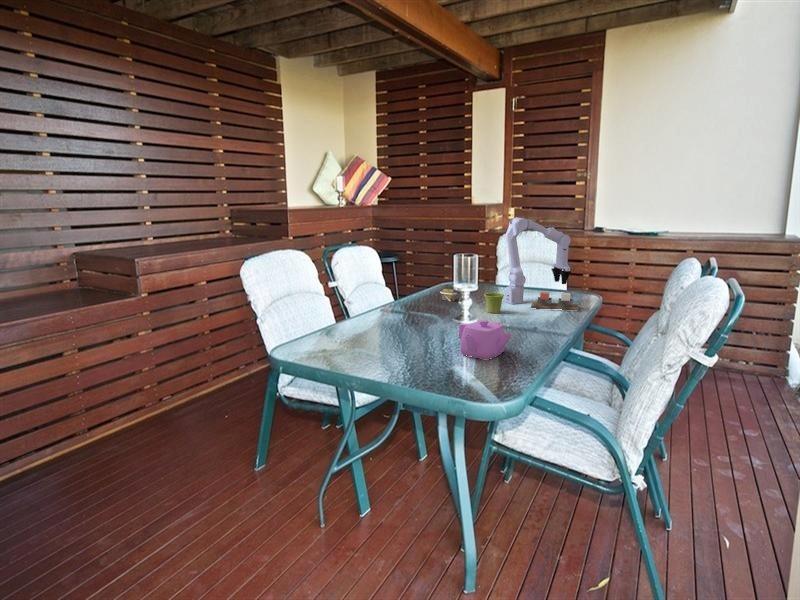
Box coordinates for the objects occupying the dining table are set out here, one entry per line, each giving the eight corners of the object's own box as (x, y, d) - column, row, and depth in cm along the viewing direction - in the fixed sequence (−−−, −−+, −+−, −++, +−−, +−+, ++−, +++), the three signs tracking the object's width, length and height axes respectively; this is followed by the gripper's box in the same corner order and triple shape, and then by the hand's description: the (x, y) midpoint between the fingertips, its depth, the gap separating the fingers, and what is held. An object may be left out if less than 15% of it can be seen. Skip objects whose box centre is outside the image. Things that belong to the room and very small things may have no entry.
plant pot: (507, 313, 242) (508, 295, 240) (490, 315, 238) (491, 297, 236) (496, 309, 250) (497, 292, 248) (480, 311, 247) (480, 293, 245)
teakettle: (498, 345, 191) (499, 314, 189) (513, 360, 175) (514, 325, 172) (454, 347, 189) (454, 315, 187) (465, 362, 173) (466, 327, 170)
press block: (577, 307, 253) (578, 298, 252) (577, 312, 243) (578, 302, 242) (532, 304, 260) (533, 295, 259) (530, 308, 250) (531, 300, 249)
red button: (549, 298, 254) (549, 292, 253) (548, 299, 250) (549, 293, 249) (540, 297, 255) (540, 291, 254) (540, 299, 251) (540, 293, 251)
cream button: (570, 299, 250) (570, 293, 250) (570, 300, 247) (570, 294, 246) (561, 298, 252) (561, 292, 251) (561, 300, 248) (561, 294, 247)
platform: (456, 305, 261) (456, 293, 260) (427, 301, 271) (427, 289, 270) (467, 301, 270) (467, 289, 269) (439, 297, 281) (439, 286, 279)
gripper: (576, 258, 257) (574, 284, 260) (562, 255, 271) (560, 280, 274) (563, 259, 256) (561, 285, 258) (550, 255, 270) (548, 280, 272)
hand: (560, 282), depth 266 cm, fingers open, 7 cm apart
